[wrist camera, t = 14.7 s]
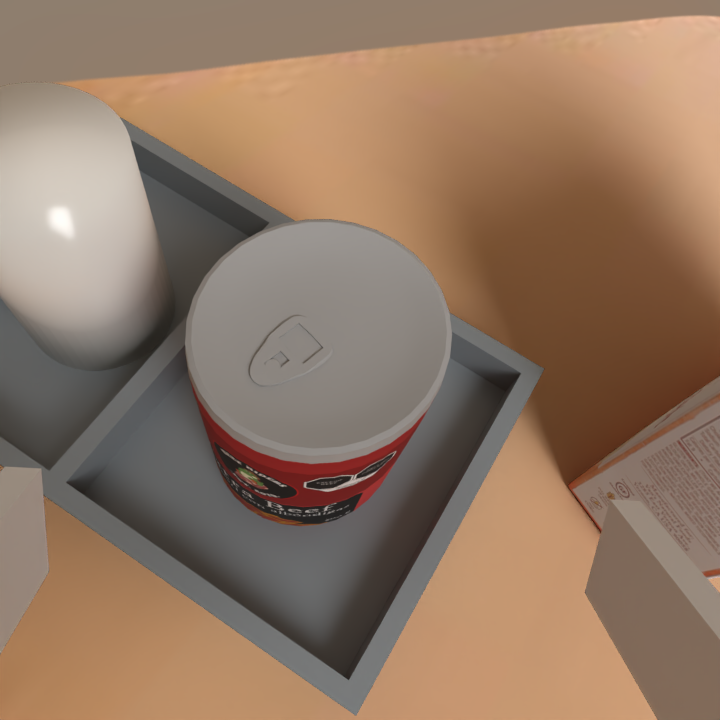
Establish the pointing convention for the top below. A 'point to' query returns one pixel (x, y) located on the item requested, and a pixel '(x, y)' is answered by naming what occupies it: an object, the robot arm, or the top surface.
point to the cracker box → (668, 477)
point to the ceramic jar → (77, 230)
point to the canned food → (314, 364)
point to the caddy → (205, 483)
